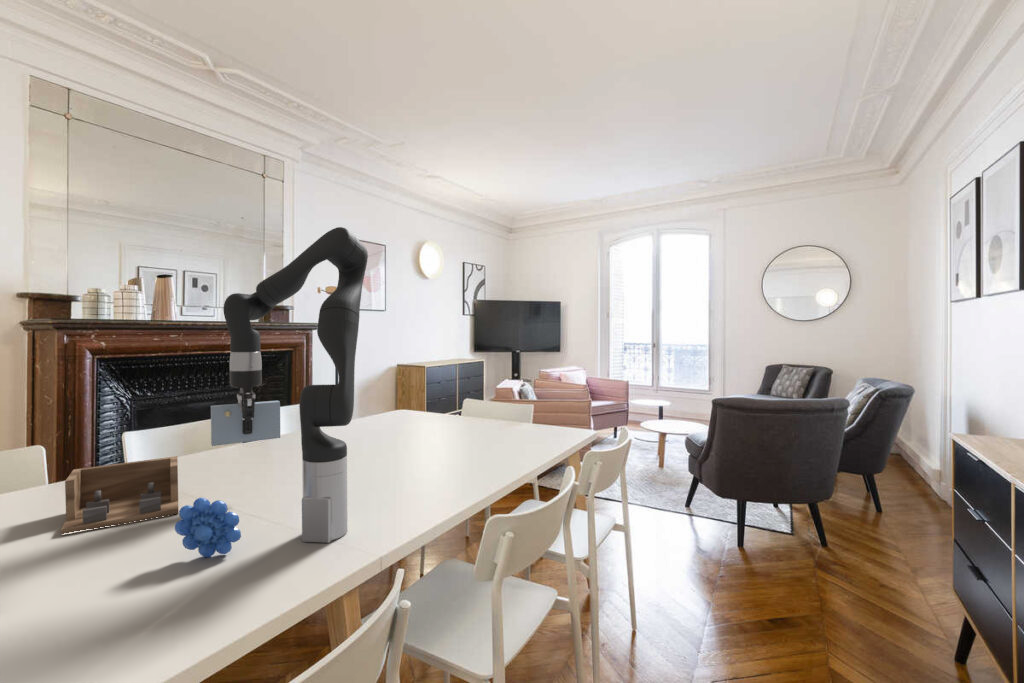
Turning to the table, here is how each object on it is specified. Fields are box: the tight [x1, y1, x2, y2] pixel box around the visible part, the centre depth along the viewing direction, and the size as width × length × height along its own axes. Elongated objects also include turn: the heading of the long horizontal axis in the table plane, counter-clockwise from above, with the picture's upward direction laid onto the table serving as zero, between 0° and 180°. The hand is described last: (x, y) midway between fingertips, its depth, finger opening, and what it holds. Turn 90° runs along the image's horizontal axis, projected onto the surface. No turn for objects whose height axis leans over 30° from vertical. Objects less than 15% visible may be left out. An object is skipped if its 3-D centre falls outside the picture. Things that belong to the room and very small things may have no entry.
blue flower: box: [174, 497, 242, 558], centre depth 94 cm, size 12×7×12 cm, turn 104°
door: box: [210, 400, 281, 447], centre depth 127 cm, size 4×16×10 cm, turn 126°
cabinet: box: [60, 456, 179, 535], centre depth 116 cm, size 17×21×10 cm
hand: (246, 432), depth 127 cm, fingers closed on door, 3 cm apart
